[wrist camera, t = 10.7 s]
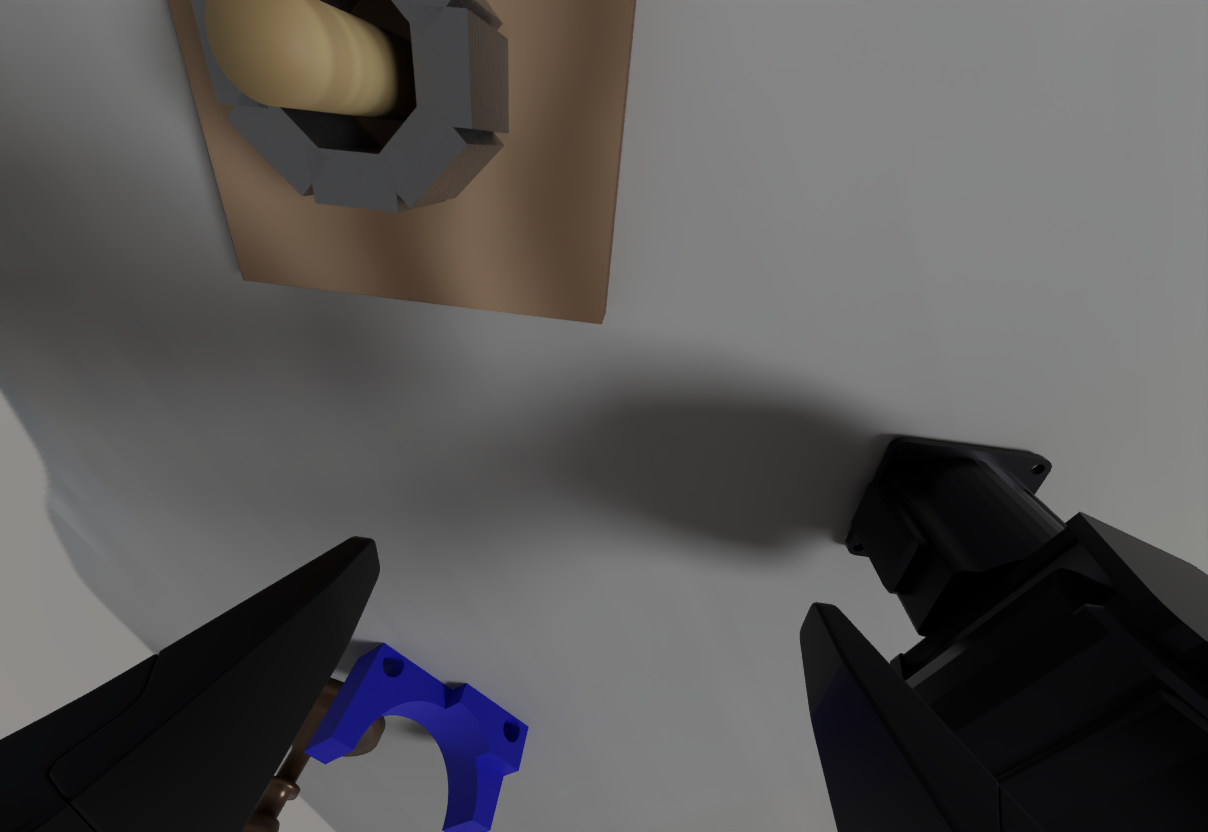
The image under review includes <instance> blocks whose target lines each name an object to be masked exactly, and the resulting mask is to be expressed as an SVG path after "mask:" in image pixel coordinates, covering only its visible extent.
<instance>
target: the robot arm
mask: <svg viewBox="0 0 1208 832" xmlns="http://www.w3.org/2000/svg"><path fill="white" fill-rule="evenodd" d="M903 447H907V448H906V449H905V450H904V451H902V452H898V451H899V450H900V449H901V448H903ZM1036 465H1037V466H1036ZM1034 466H1036V467H1035V468H1033V467H1034ZM1032 468H1033V469H1032ZM1051 468H1052V465H1051V463H1050V462H1049V461H1048V460H1047V459H1045V458H1044V457H1043V456H1041V455H1038V454H1031V453H1023V452H1016V451H1008V450H1000V449H992V448H985V447H977V446H969V445H961V444H954V443H946V442H938V441H931V440H923V439H915V438H907V437H900V438H897V439H895V440H893V441H892V442H891V443H890V444H889V446H888V448H887V450H886V453H885V455H884V457H883V459H882V461H881V464H880V466H879V468H878V470H877V472H876V475H875V477H874V479H873V480H872V481H871V482H870V483H869V484H868V487H867V489H866V491H865V493H864V495H863V498H862V500H861V502H860V504H859V507H858V509H857V511H856V513H855V515H854V518H853V520H852V527H851V529H850V532H849V534H848V536H847V538H846V541H845V544H846V547H847V549H848V551H849V552H850V553H851V554H853V555H858V556H865V557H869V559H870V560H871V562H872V564H873V566H874V568H875V570H876V572H877V574H878V576H879V578H880V580H881V582H882V584H883V586H884V587H885V588H886V590H887V591H888V592H889V593H892V594H897V596H898V598H899V600H900V601H901V603H902V605H903V607H904V609H905V611H906V613H907V614H908V616H909V618H910V620H911V622H912V624H913V626H914V627H915V629H916V631H917V633H918V634H919V635H921V636H925V638H924V639H923V640H921V641H920V642H919V643H917V644H916V645H915V646H914V647H912V648H911V649H910V650H909V651H907V652H906V653H905V654H902V653H900V654H899V655H897V656H896V657H895V658H894V659H892V660H891V661H890V664H889V663H888V662H887V661H886V659H885V658H884V657H883V656H882V655H881V654H880V653H879V652H878V651H877V650H876V649H875V647H874V646H873V645H872V644H871V643H870V642H869V641H868V640H867V639H866V638H865V637H864V636H863V634H862V633H861V632H860V631H859V630H858V629H857V628H856V627H855V626H854V625H853V624H852V623H851V621H850V620H849V619H848V618H847V617H846V616H845V615H844V614H843V613H842V612H841V611H840V609H839V608H837V607H836V606H835V605H832V604H825V603H818V602H815V603H813V604H812V605H811V607H810V609H809V611H808V613H807V615H806V618H805V620H804V622H803V624H802V627H801V630H800V645H801V652H802V660H803V667H804V675H805V682H806V689H807V697H808V704H809V711H810V717H811V722H812V727H813V731H814V736H815V740H816V744H817V748H818V752H819V756H820V760H821V765H822V769H823V773H824V777H825V781H826V785H827V789H828V793H829V798H830V802H831V806H832V810H833V814H834V818H835V822H836V826H837V831H838V832H1208V575H1207V574H1205V573H1204V572H1203V571H1201V570H1200V569H1198V568H1197V567H1195V566H1194V565H1192V564H1190V563H1188V562H1186V561H1184V560H1182V559H1180V558H1178V557H1176V556H1173V555H1171V554H1169V553H1167V552H1165V551H1163V550H1161V549H1159V548H1156V547H1154V546H1152V545H1150V544H1148V543H1146V542H1144V541H1142V540H1140V539H1137V538H1135V537H1133V536H1131V535H1129V534H1127V533H1125V532H1123V531H1120V530H1118V529H1116V528H1114V527H1112V526H1110V525H1108V524H1106V523H1104V522H1101V521H1099V520H1097V519H1095V518H1093V517H1091V516H1089V515H1087V514H1084V513H1082V512H1079V513H1077V514H1076V515H1075V516H1074V517H1072V518H1071V519H1070V520H1069V521H1067V522H1066V523H1064V522H1063V521H1062V520H1061V519H1060V518H1059V517H1058V516H1057V515H1056V514H1055V513H1053V512H1052V511H1051V510H1050V509H1049V508H1048V507H1047V506H1046V505H1045V504H1044V503H1043V502H1041V501H1040V500H1039V499H1038V498H1037V497H1036V496H1035V493H1036V492H1037V490H1038V489H1039V487H1040V486H1041V484H1042V483H1043V481H1044V480H1045V478H1046V477H1047V475H1048V474H1049V472H1050V471H1051ZM856 544H859V545H856ZM379 572H380V564H379V559H378V553H377V548H376V543H375V541H374V540H373V539H371V538H365V537H358V536H354V537H351V538H349V539H347V540H346V541H344V542H342V543H341V544H339V545H337V546H336V547H334V548H332V549H331V550H329V551H327V552H326V553H324V554H322V555H320V556H319V557H317V558H315V559H314V560H312V561H310V562H309V563H307V564H305V565H304V566H302V567H300V568H299V569H297V570H295V571H294V572H292V573H290V574H289V575H287V576H285V577H284V578H282V579H280V580H279V581H277V582H275V583H273V584H272V585H270V586H268V587H267V588H265V589H263V590H262V591H260V592H258V593H257V594H255V595H253V596H252V597H250V598H248V599H247V600H245V601H243V602H242V603H240V604H238V605H237V606H235V607H233V608H232V609H230V610H228V611H226V612H225V613H223V614H221V615H220V616H218V617H216V618H215V619H213V620H211V621H210V622H208V623H206V624H205V625H203V626H201V627H200V628H198V629H196V630H195V631H193V632H191V633H190V634H188V635H186V636H185V637H183V638H181V639H179V640H178V641H176V642H174V643H173V644H171V645H169V646H168V647H166V648H164V649H163V650H161V651H160V652H159V654H154V655H152V656H151V657H149V658H147V659H146V660H144V661H142V662H141V663H139V664H137V665H136V666H134V667H132V668H131V669H129V670H127V671H125V672H124V673H122V674H120V675H118V676H117V677H115V678H113V679H112V680H110V681H108V682H106V683H105V684H103V685H101V686H100V687H98V688H96V689H94V690H93V691H91V692H89V693H87V694H85V695H84V696H82V697H80V698H78V699H76V700H74V701H73V702H70V703H69V704H67V705H65V706H63V707H61V708H59V709H58V710H56V711H54V712H52V713H50V714H49V715H47V716H45V717H43V718H41V719H39V720H37V721H35V722H33V723H31V724H30V725H28V726H26V727H24V728H22V729H20V730H18V731H16V732H14V733H12V734H10V735H9V736H7V737H5V738H3V739H1V740H0V832H242V830H243V828H244V827H245V825H246V823H247V821H248V820H249V818H250V816H251V814H252V813H253V811H254V809H255V807H256V806H257V804H258V802H259V801H260V799H261V797H262V795H263V794H264V792H265V790H266V788H267V787H268V785H269V783H270V781H271V780H272V778H273V776H274V774H275V773H276V771H277V769H278V767H279V766H280V764H281V762H282V760H283V759H284V757H285V755H286V753H287V752H288V750H289V748H290V746H291V745H292V743H293V741H294V739H295V738H296V736H297V734H298V732H299V731H300V729H301V727H302V725H303V724H304V722H305V720H306V718H307V717H308V715H309V713H310V711H311V710H312V708H313V706H314V704H315V703H316V701H317V699H318V697H319V696H320V694H321V692H322V691H323V689H324V687H325V685H326V684H327V682H328V680H329V678H330V677H331V675H332V673H333V671H334V670H335V668H336V666H337V664H338V663H339V661H340V659H341V657H342V655H343V653H344V652H345V650H346V648H347V646H348V644H349V642H350V640H351V637H352V635H353V633H354V631H355V629H356V626H357V624H358V622H359V620H360V617H361V615H362V613H363V611H364V608H365V606H366V604H367V602H368V599H369V597H370V595H371V593H372V590H373V588H374V586H375V584H376V581H377V579H378V576H379Z"/></svg>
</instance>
